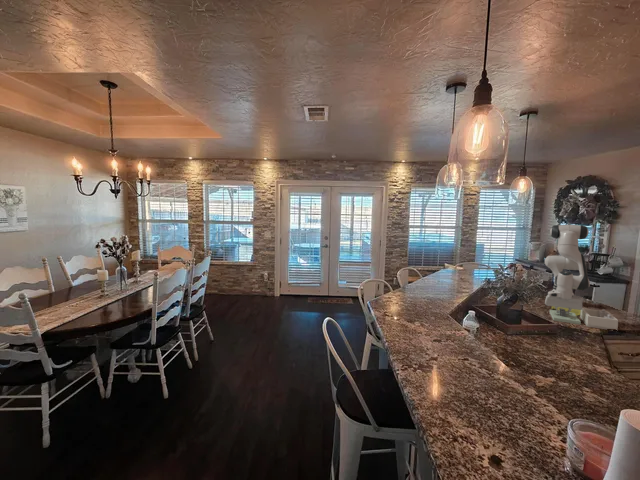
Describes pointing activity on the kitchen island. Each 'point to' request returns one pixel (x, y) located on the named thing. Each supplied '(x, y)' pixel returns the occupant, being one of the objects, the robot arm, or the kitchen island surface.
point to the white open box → (598, 319)
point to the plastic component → (576, 311)
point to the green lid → (564, 316)
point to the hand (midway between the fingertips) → (562, 313)
